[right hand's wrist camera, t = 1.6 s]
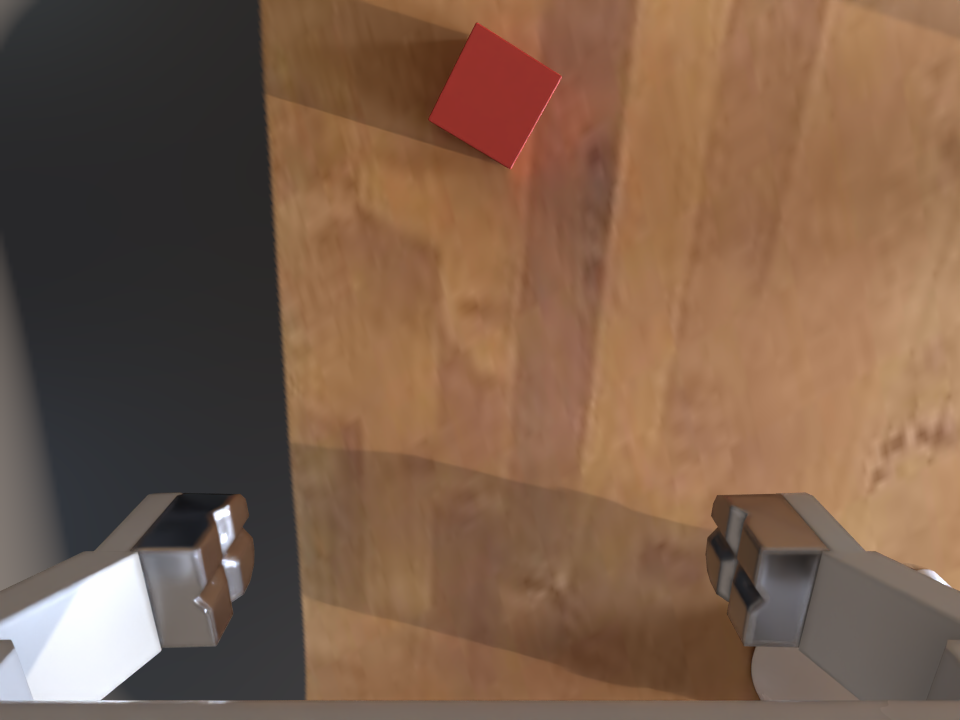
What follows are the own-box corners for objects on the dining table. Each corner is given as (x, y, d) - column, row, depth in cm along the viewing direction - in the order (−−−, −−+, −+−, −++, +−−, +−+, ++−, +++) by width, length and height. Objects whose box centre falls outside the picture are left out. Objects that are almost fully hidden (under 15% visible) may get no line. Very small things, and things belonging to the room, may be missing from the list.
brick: (478, 37, 32) (476, 21, 28) (554, 85, 33) (562, 76, 29) (435, 124, 34) (427, 119, 30) (508, 168, 35) (510, 169, 31)
